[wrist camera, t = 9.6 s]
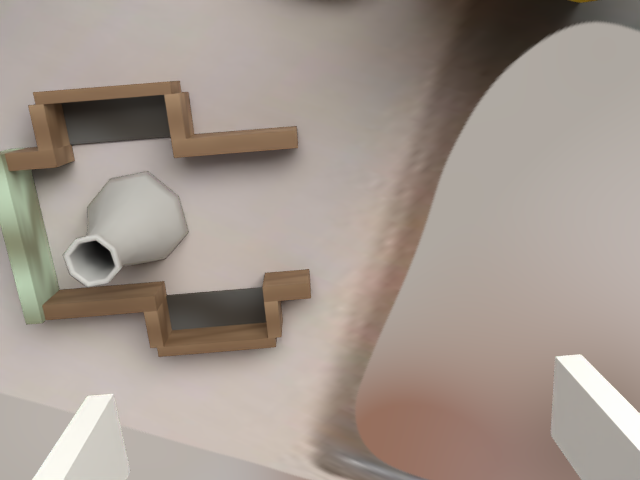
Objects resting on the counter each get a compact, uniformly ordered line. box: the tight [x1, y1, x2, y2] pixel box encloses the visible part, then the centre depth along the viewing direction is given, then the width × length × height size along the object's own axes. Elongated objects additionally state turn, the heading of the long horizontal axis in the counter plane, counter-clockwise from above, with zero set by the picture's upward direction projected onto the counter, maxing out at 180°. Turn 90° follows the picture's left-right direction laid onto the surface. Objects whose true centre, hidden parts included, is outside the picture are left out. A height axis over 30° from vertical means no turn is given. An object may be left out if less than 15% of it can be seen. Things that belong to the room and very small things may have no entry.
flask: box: [63, 171, 188, 288], centre depth 37 cm, size 7×7×10 cm
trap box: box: [0, 81, 311, 357], centre depth 40 cm, size 20×21×4 cm
